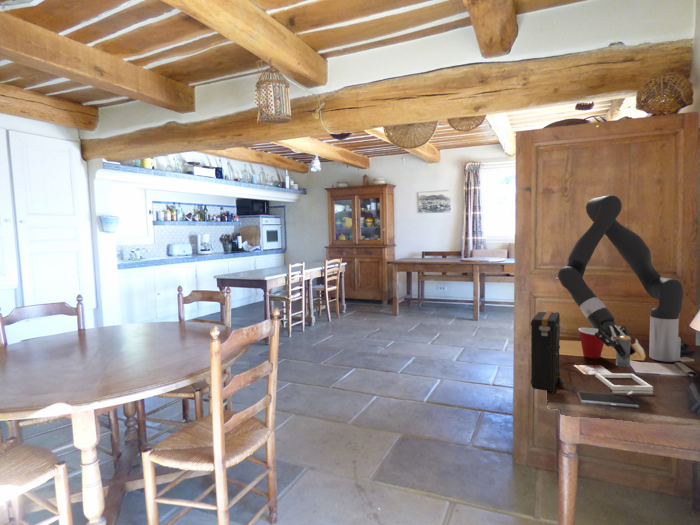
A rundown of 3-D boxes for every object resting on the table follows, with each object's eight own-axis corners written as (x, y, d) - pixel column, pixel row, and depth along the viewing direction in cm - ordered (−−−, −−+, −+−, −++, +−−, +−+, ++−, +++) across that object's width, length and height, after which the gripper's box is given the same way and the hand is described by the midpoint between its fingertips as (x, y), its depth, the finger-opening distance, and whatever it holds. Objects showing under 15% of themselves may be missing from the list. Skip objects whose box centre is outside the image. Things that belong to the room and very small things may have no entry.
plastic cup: (612, 362, 167) (612, 333, 166) (582, 362, 169) (583, 333, 168) (601, 354, 178) (602, 327, 177) (574, 354, 180) (574, 326, 179)
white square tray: (632, 379, 149) (632, 373, 149) (652, 393, 137) (653, 386, 137) (595, 379, 151) (595, 373, 151) (612, 392, 138) (612, 386, 138)
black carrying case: (557, 394, 139) (557, 320, 137) (529, 389, 143) (529, 318, 141) (562, 379, 152) (562, 311, 150) (536, 375, 156) (536, 309, 154)
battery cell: (625, 363, 145) (626, 335, 144) (632, 367, 141) (633, 338, 140) (613, 363, 145) (614, 335, 145) (619, 367, 142) (620, 338, 141)
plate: (600, 367, 162) (600, 365, 162) (613, 377, 152) (613, 374, 152) (573, 367, 163) (573, 364, 163) (584, 376, 153) (584, 373, 153)
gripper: (589, 308, 146) (623, 351, 136) (617, 304, 151) (651, 346, 141) (575, 320, 151) (607, 363, 141) (602, 316, 157) (634, 357, 146)
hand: (628, 354), depth 141 cm, fingers closed on battery cell, 4 cm apart
